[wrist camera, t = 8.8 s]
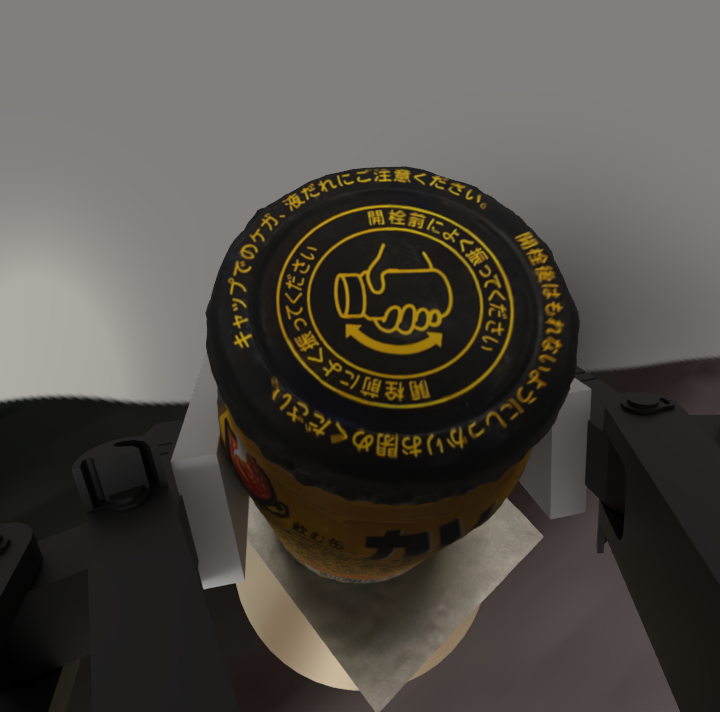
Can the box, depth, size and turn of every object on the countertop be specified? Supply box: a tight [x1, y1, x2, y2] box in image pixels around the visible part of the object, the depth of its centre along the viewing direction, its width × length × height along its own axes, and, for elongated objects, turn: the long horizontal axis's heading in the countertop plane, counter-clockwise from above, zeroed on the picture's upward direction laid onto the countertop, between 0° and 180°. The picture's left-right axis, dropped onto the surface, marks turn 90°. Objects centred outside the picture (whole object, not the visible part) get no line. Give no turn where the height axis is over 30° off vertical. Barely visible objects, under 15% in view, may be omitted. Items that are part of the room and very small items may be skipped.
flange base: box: [236, 540, 481, 690], centre depth 24 cm, size 12×12×4 cm
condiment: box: [206, 167, 579, 712], centre depth 12 cm, size 7×8×12 cm
